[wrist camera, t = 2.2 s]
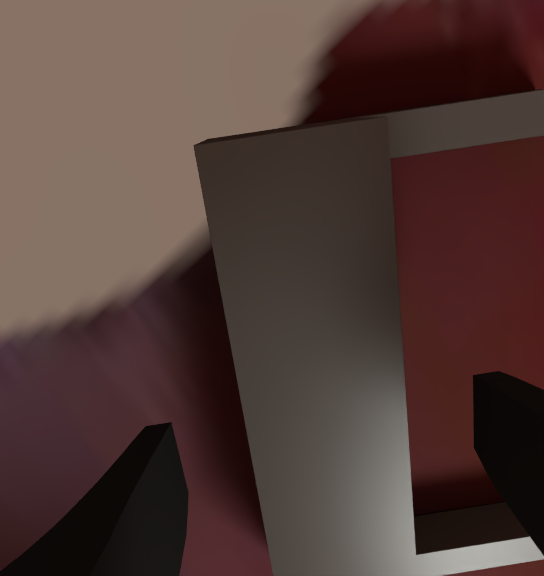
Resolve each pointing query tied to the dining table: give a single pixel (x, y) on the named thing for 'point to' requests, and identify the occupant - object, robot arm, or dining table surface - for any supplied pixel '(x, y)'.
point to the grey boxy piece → (340, 337)
